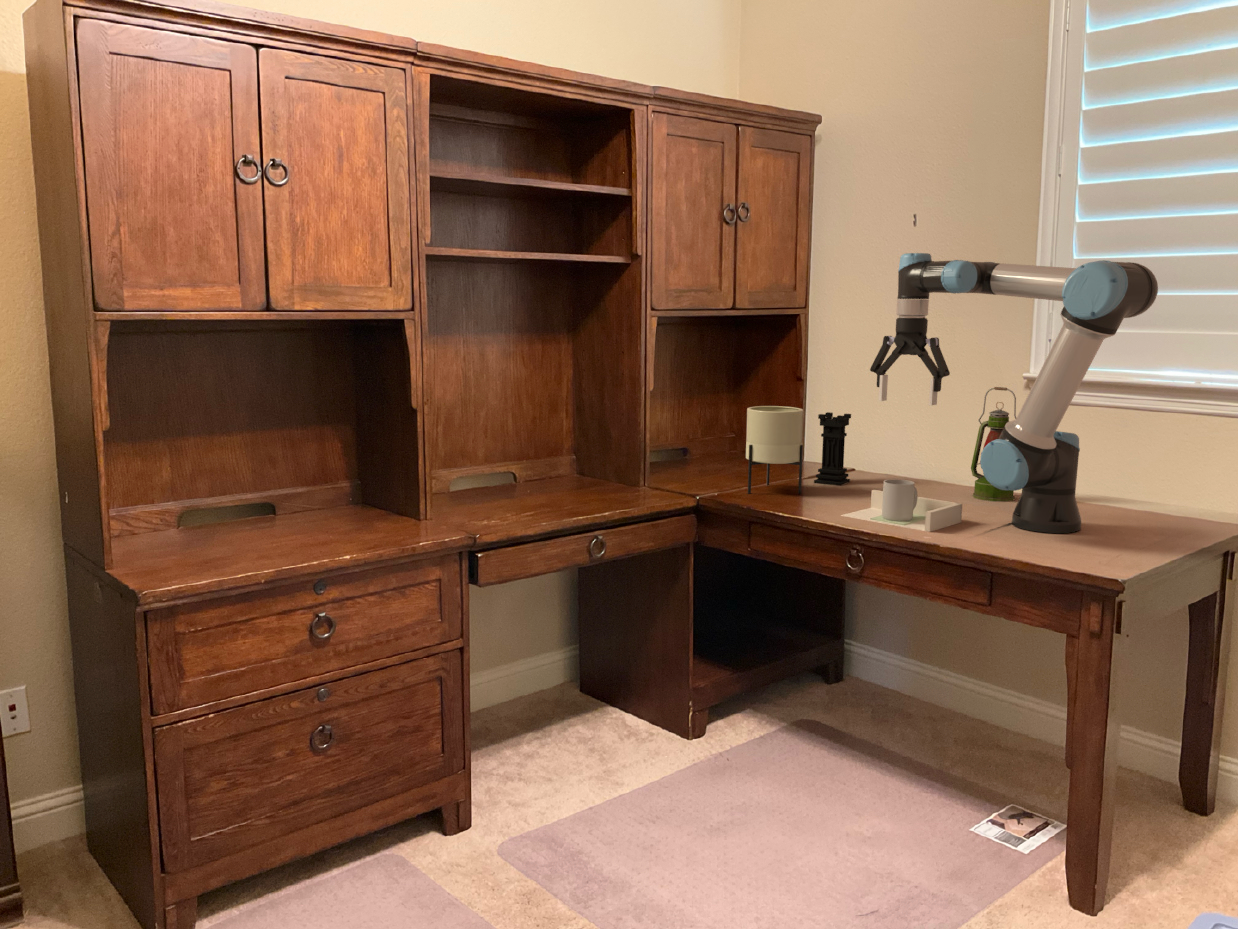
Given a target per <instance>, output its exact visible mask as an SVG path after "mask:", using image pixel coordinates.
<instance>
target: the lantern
mask: <svg viewBox="0 0 1238 929" xmlns="http://www.w3.org/2000/svg"><path fill="white" fill-rule="evenodd" d="M992 390H995V391H1008V392H1010V393H1011V394H1012V395H1013V398H1014V399H1013V400H1014V405H1013V411H1014V412H1013V416H1014V420H1016V418H1017V415H1016V414H1017V410H1016V409H1017V406H1016V405H1017V397H1016V395H1015V392H1014V391H1012V390H1011V389H1009V388H1007V387H1002V386H994V387H992V388H989V389H988V390H987V391H986V392H985V395H984V400H983V407H982V408H983V409H982V413H981V415H980V416H979V419H978V422H979V424H980V425H979V427H978V433H977V436H976V441H975V447H974V451H973V456H972V459H971V466H970V469H971V470H970V471H971V474H972V475H971V476H973V477H974V478H976V480H975V481H974V489H973V490H974V493H973V494H972V497H973V498H974V499H977V500H980V501H986V502H987V501H988V502H999V503H1000V502H1002V503H1003V502H1004V503H1005V502H1012V501H1014V500H1015V495H1014V492H1015V491H1013V490H1001V489H998V488H996V487H994V486H993V485H991V484H990V483H989V482H988V481H987V479H986V478H985V476H984V474H981V473H979V472H978V470H977V469H978V465H980V466H981V463H980V462H979V460H980V459H979V458H980V455H981V454H982V451H981V448H982V443H983V438H984V434H985V429H986V428H989V429H990V430H989V432H988V434H987V437H986V439H985V442H984V443H983V449H984V447H985V446H986V445H987V444H988V443H990V442H991V441H993V440H996V439H999V437H1000V435H1001V433H1002V431H1003V429H1004V427H1005V425H1006V423H1008V422H1010V417H1009V416H1010V413H1009V412H1007V411H1006V410H1003V409H1004V403H1003V401H1001V402H999V401H997V402H995V403H996V404H995V407H996V410H993V411H990V412H988V414H989V416H988V420H985V421H983V422H982V421H981V419H982V417H983V416H984V414H985V410H986V409H985V408H986V400H987V395H988V394H989V392H991V391H992ZM998 404H1002V407H1001V408H999V407H998ZM983 449H982V450H983ZM978 462H979V463H978Z"/></svg>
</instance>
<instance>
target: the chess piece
mask: <svg viewBox="0 0 1238 929" xmlns="http://www.w3.org/2000/svg"><path fill="white" fill-rule="evenodd" d="M833 415H834V414H833V412H825V414H824V413H819V414H818V415H817V418H818V419H817V420H819V426H820V427H822V428H823V429H822V432H823V433H821V434H820V436H821V437H822V451H821V452H822V454H821V467H820V468H818V469H817V472H818V473H817V474H815V478H816V479H813V484H820V485H829V486H839V487H840V486H844V485H845V484H848V483H850V482H851V479H850V478H848V477H849V473H847V471H848V469H847V468H846V467H844V464H845V461H844V460H845V444H846V443H845V439H846V438H845V437H847V434H848V432H846V426H849V425H850V419H852V413H844V414H843V415H841V414H840V415H836V416H833Z"/></svg>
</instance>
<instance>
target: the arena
mask: <svg viewBox="0 0 1238 929" xmlns="http://www.w3.org/2000/svg"><path fill="white" fill-rule="evenodd" d="M870 496H871V497H870V507H868V508H864V509H860V510H856V511H853V512H849V513H844V514H841V515H840V517H846V518H851V519H858V520H862V521H868V522H873V523H879V524H884V525H889V526H896V527H899V528H904V529H905V528H906V529H912V530H917V531H923V532H926V533H927V532H928V533H931V532H935V531H937V530H941V529H944V528H947V527H950V526H951V527H952V526H954V525H957V524H960V523H962V516H963V513H962V512H963V503H961V502H960V503H959V502H953V501H948V500H941V499H935V498H929V497H922V496H918V499H917V504H916V507H915V508H914V510H913V514H915V515H921V516H926V518H925V520H921V521H918V522H914V523H911V524H907V525H898V524H893V523H887V522H882V521H876V520H871V519H870V518H873V517H877V516H880V515H882V503H883V490H878V489H871V495H870Z"/></svg>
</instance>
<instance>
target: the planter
mask: <svg viewBox="0 0 1238 929" xmlns="http://www.w3.org/2000/svg"><path fill="white" fill-rule="evenodd" d="M803 424H804V409H803V408H801V407H800V408H799V407H796V406H795V407H793V406H786V405H785V406H784V405H783V406H781V405H780V406H779V405H759V406H758V405H757V406H750V407H747V409H746V441H745V442H746V444H745V459H746V460H748V470H747V471H748V474H747V476H748V477H747V494H749V495H750V494H752V466H755V465H756V466H757V465H765V464H767V465H766V486H767V485H769V486H770V474H771V472H770V470H771V467H770V466H771V464H772V465H773V464H774V465H775V464H778V465H779V464H780V465H782V464H785V465H793V466H798V467H799V468H798V470H799V471H798V489H797V490H798V491H797V494H798V495H802V483H803V482H802V481H803V480H802V478H803V477H802V476H803V454H804V453H803V452H804V446H803V428H804V427H803Z"/></svg>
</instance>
